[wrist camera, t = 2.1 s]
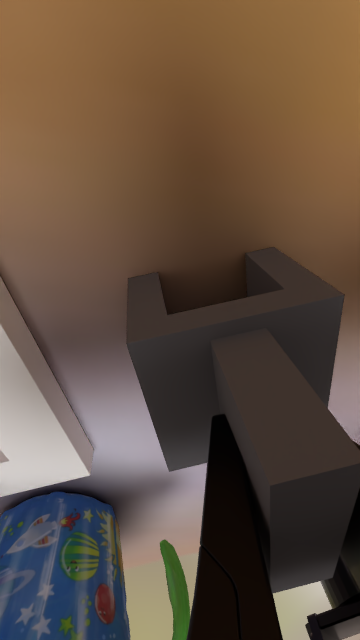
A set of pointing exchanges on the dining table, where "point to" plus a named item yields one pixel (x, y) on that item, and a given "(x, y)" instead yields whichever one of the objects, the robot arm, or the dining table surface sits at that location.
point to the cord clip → (257, 403)
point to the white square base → (34, 414)
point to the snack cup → (71, 572)
